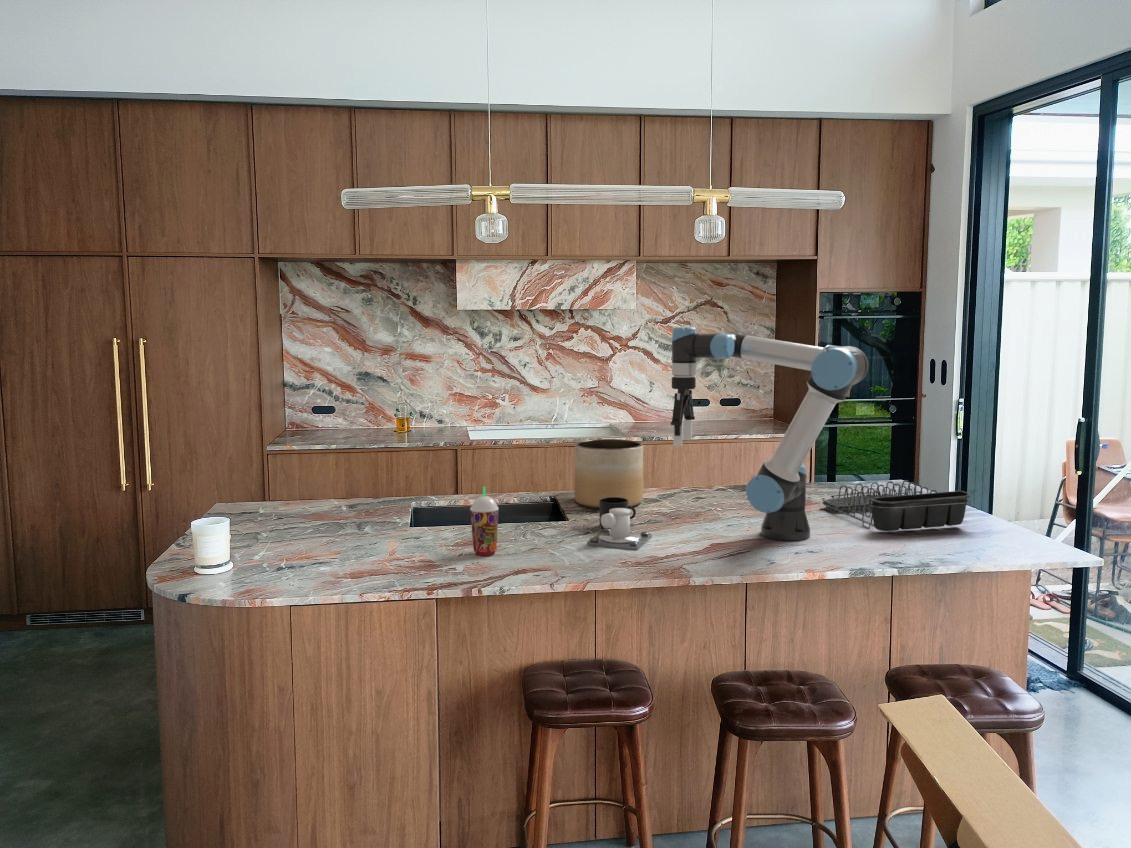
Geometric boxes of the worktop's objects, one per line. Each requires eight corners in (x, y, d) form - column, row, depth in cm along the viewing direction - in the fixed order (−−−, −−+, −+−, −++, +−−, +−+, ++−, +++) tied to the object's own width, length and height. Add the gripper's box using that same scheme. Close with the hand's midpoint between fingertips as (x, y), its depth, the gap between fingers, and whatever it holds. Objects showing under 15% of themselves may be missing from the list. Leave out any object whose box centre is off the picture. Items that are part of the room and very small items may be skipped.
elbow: (620, 532, 279) (620, 507, 278) (635, 536, 274) (635, 510, 273) (598, 537, 273) (598, 511, 272) (612, 541, 268) (612, 515, 267)
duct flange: (651, 537, 279) (651, 531, 279) (637, 550, 264) (637, 544, 264) (603, 532, 285) (603, 527, 285) (586, 545, 270) (586, 539, 270)
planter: (578, 494, 343) (578, 438, 340) (644, 496, 340) (645, 439, 337) (570, 509, 318) (569, 448, 315) (641, 511, 315) (641, 449, 312)
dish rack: (879, 537, 279) (881, 500, 277) (811, 507, 321) (812, 474, 320) (974, 531, 286) (976, 494, 284) (895, 502, 329) (896, 470, 327)
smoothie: (488, 559, 255) (486, 490, 253) (465, 555, 260) (463, 487, 257) (505, 552, 262) (504, 485, 260) (482, 548, 267) (481, 483, 264)
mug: (637, 530, 288) (637, 502, 287) (600, 530, 288) (600, 503, 287) (634, 523, 297) (634, 496, 296) (598, 523, 297) (598, 497, 296)
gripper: (681, 373, 294) (680, 436, 296) (662, 378, 270) (661, 447, 273) (703, 373, 291) (702, 437, 294) (686, 379, 268) (685, 449, 270)
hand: (682, 442), depth 283 cm, fingers open, 13 cm apart
